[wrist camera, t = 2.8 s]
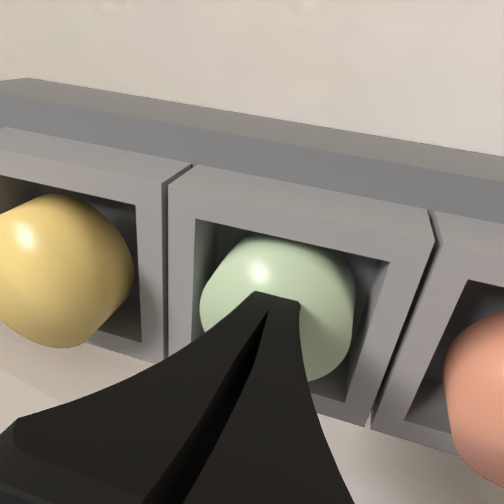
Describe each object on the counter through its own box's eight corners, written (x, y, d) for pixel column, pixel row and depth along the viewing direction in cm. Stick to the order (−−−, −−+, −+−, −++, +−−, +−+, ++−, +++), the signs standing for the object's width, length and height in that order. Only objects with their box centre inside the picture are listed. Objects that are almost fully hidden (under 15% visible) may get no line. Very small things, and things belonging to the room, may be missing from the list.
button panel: (742, 196, 11) (955, 292, 7) (580, 406, 16) (652, 541, 12) (26, 77, 16) (-102, 93, 12) (58, 267, 20) (-26, 328, 16)
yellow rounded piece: (131, 209, 12) (89, 238, 10) (137, 324, 14) (103, 364, 12) (6, 181, 13) (-52, 204, 11) (30, 293, 15) (-15, 326, 13)
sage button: (371, 244, 11) (369, 280, 10) (339, 355, 14) (333, 400, 12) (227, 212, 12) (202, 241, 11) (218, 322, 14) (197, 360, 13)
